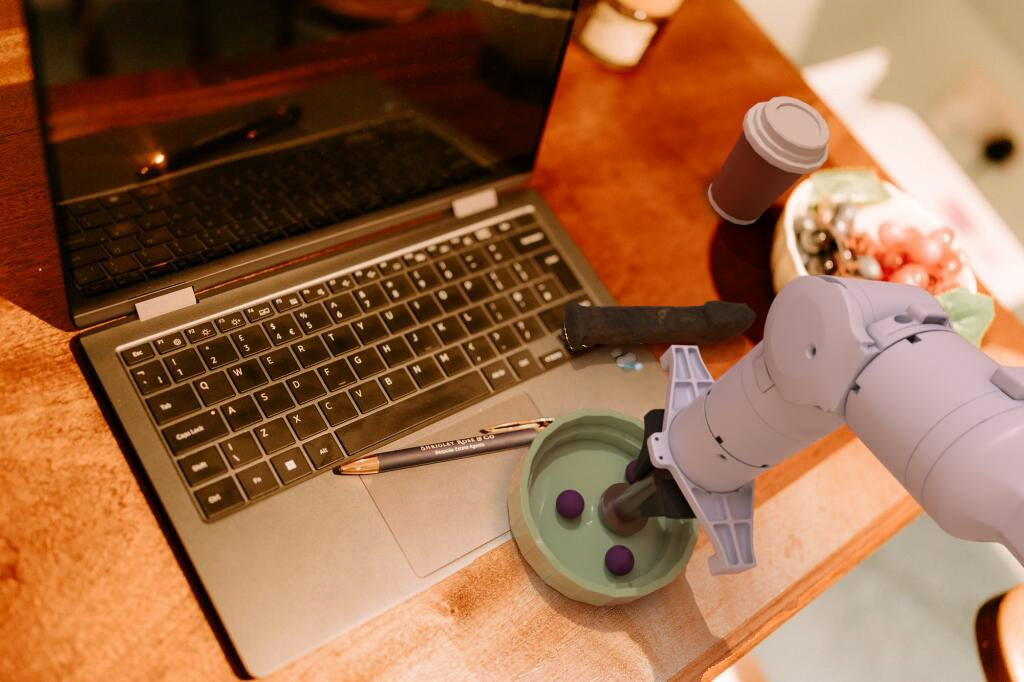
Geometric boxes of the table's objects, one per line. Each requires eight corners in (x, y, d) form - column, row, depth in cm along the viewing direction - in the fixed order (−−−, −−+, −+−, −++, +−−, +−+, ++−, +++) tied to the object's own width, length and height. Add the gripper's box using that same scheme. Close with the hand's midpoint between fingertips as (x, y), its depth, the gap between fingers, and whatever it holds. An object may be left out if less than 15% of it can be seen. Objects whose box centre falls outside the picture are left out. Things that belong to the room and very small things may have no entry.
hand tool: (563, 356, 62) (581, 330, 58) (556, 317, 64) (573, 290, 60) (747, 359, 67) (775, 336, 64) (736, 323, 69) (762, 298, 65)
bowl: (694, 599, 54) (720, 589, 51) (517, 613, 50) (533, 604, 47) (655, 427, 61) (676, 409, 58) (497, 428, 57) (510, 408, 54)
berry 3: (648, 494, 57) (662, 475, 56) (626, 491, 56) (641, 471, 55) (637, 474, 58) (650, 455, 57) (616, 471, 57) (629, 451, 56)
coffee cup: (696, 220, 75) (757, 138, 65) (696, 161, 80) (754, 76, 70) (773, 244, 76) (845, 167, 66) (769, 184, 81) (835, 104, 71)
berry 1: (550, 519, 54) (577, 529, 53) (551, 499, 53) (579, 509, 52) (561, 498, 55) (587, 508, 55) (562, 479, 54) (589, 489, 53)
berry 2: (623, 580, 53) (634, 580, 51) (596, 569, 53) (607, 569, 51) (630, 551, 54) (642, 550, 52) (604, 541, 54) (616, 539, 52)
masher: (643, 541, 54) (693, 515, 48) (595, 529, 54) (638, 501, 47) (647, 491, 56) (694, 460, 50) (600, 479, 56) (642, 446, 49)
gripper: (659, 307, 42) (581, 401, 53) (720, 553, 35) (616, 601, 47) (760, 312, 44) (665, 402, 55) (837, 546, 37) (710, 593, 49)
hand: (648, 493), depth 51 cm, fingers closed on masher, 2 cm apart
